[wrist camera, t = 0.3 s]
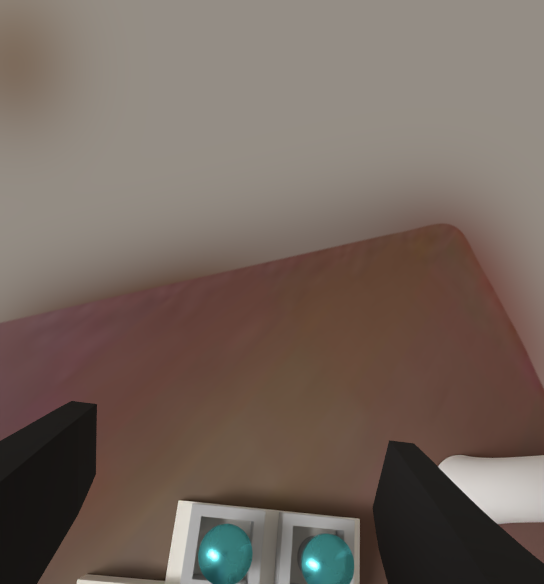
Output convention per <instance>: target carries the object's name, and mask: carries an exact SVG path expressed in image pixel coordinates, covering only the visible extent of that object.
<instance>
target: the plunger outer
mask: <svg viewBox="0 0 544 584" xmlns="http://www.w3.org/2000/svg"><path fill="white" fill-rule="evenodd" d="M297 562H298V566H299V569H300V571H301V572H302V574H303V577H304V579H305V581H306V582H307V584H350V582H351V580H352V578H353V574H354V558H353V555H352V552H351V550H350V548H349V546H348V545H347V544H346V543H345V541H343V540H342V539H341V538H340V537H338V536H336V535H332V534H328V533H323V534H318V535H313V536H310V537H308V538H306V539H305V540H304V541H303V542H302V543H301V545H300V547H299V549H298V553H297Z"/></svg>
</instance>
